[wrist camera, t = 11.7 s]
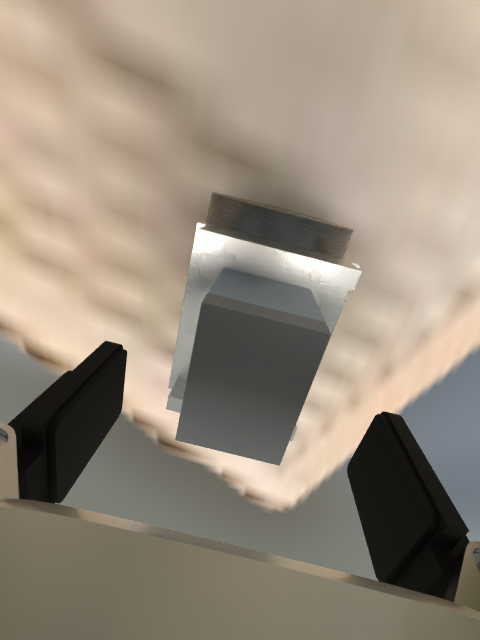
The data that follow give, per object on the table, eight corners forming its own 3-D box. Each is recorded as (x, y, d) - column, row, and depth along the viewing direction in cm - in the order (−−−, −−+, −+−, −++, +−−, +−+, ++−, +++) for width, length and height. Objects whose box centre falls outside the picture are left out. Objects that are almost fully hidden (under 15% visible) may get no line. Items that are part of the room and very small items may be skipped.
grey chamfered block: (223, 267, 17) (201, 302, 11) (310, 289, 17) (331, 334, 11) (201, 370, 19) (175, 439, 14) (276, 389, 19) (279, 465, 14)
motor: (223, 193, 25) (182, 189, 13) (335, 223, 25) (396, 245, 13) (194, 335, 31) (147, 423, 19) (287, 359, 31) (299, 462, 19)
